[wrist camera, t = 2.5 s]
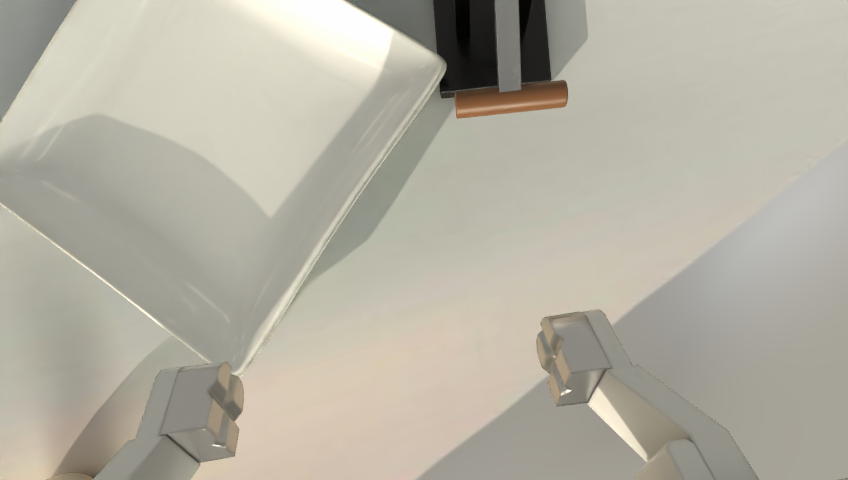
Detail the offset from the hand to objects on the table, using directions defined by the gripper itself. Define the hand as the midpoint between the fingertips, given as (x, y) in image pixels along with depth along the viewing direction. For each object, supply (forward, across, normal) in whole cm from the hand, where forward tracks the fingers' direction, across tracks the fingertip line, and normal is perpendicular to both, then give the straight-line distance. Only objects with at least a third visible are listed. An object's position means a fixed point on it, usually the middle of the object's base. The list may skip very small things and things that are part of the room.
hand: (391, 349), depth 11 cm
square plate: (+27, +12, +8) cm, 30 cm away
